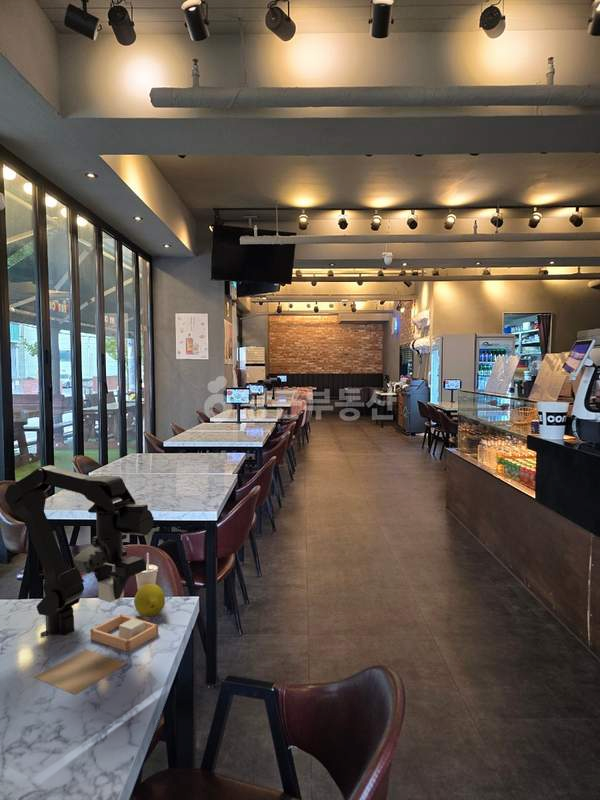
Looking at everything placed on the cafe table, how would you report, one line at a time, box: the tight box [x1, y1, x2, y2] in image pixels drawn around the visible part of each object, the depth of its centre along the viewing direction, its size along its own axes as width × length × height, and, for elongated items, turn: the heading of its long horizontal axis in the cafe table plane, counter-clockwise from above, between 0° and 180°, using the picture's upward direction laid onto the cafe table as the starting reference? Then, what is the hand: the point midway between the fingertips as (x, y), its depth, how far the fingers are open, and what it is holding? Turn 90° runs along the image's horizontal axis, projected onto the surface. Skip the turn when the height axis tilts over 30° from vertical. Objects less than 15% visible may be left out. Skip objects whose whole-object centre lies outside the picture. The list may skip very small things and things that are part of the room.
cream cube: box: [118, 619, 144, 640], centre depth 127 cm, size 4×4×4 cm
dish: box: [89, 614, 159, 652], centre depth 129 cm, size 12×9×3 cm
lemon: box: [133, 584, 166, 618], centre depth 142 cm, size 11×8×8 cm
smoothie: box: [134, 552, 159, 591], centre depth 150 cm, size 6×6×14 cm
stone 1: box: [97, 577, 125, 603], centre depth 127 cm, size 4×4×4 cm
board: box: [33, 649, 128, 696], centre depth 114 cm, size 13×13×1 cm
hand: (111, 596), depth 127 cm, fingers closed on stone 1, 4 cm apart
